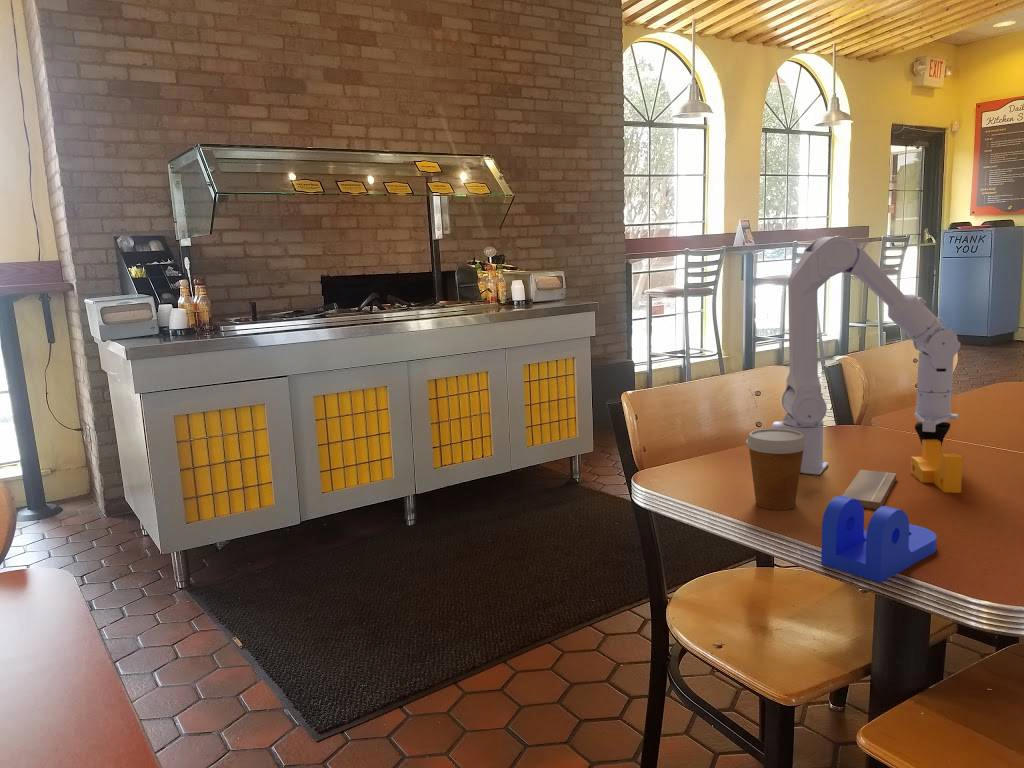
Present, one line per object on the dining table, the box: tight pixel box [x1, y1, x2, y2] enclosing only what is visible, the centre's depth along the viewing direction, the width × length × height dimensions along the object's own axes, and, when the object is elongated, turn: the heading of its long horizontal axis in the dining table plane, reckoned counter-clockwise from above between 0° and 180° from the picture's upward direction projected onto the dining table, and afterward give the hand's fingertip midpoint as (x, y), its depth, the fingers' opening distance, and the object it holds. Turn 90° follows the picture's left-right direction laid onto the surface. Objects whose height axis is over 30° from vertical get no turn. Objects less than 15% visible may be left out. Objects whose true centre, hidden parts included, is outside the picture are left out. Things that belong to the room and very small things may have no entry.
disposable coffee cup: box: [745, 428, 807, 511], centre depth 131 cm, size 10×10×12 cm
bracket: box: [820, 494, 938, 584], centre depth 108 cm, size 18×8×9 cm, turn 127°
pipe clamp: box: [910, 439, 964, 494], centre depth 139 cm, size 12×4×6 cm, turn 170°
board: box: [841, 469, 897, 510], centre depth 136 cm, size 6×18×1 cm, turn 147°
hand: (931, 461), depth 148 cm, fingers closed
